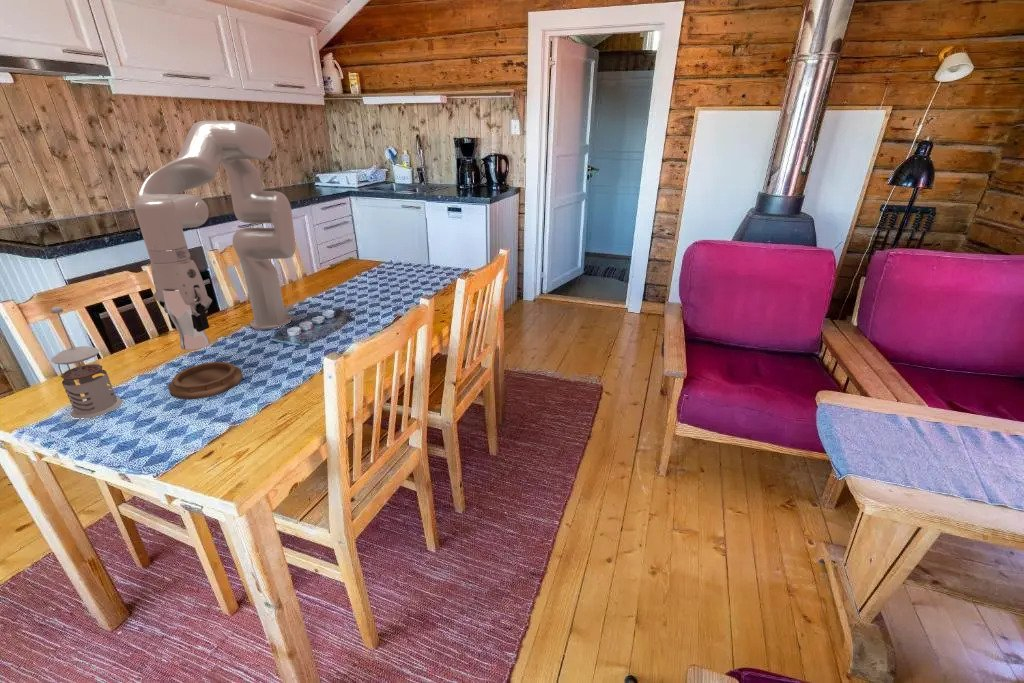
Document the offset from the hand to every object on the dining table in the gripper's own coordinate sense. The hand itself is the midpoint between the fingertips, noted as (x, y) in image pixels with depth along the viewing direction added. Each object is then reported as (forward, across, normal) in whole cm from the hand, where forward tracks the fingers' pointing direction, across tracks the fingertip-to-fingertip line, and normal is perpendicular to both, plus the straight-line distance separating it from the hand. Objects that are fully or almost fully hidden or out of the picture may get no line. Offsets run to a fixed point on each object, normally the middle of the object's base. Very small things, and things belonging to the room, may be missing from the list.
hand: (190, 327), depth 114 cm
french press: (+16, +16, +16) cm, 27 cm away
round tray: (+15, 0, 0) cm, 15 cm away
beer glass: (+5, 0, 0) cm, 5 cm away
